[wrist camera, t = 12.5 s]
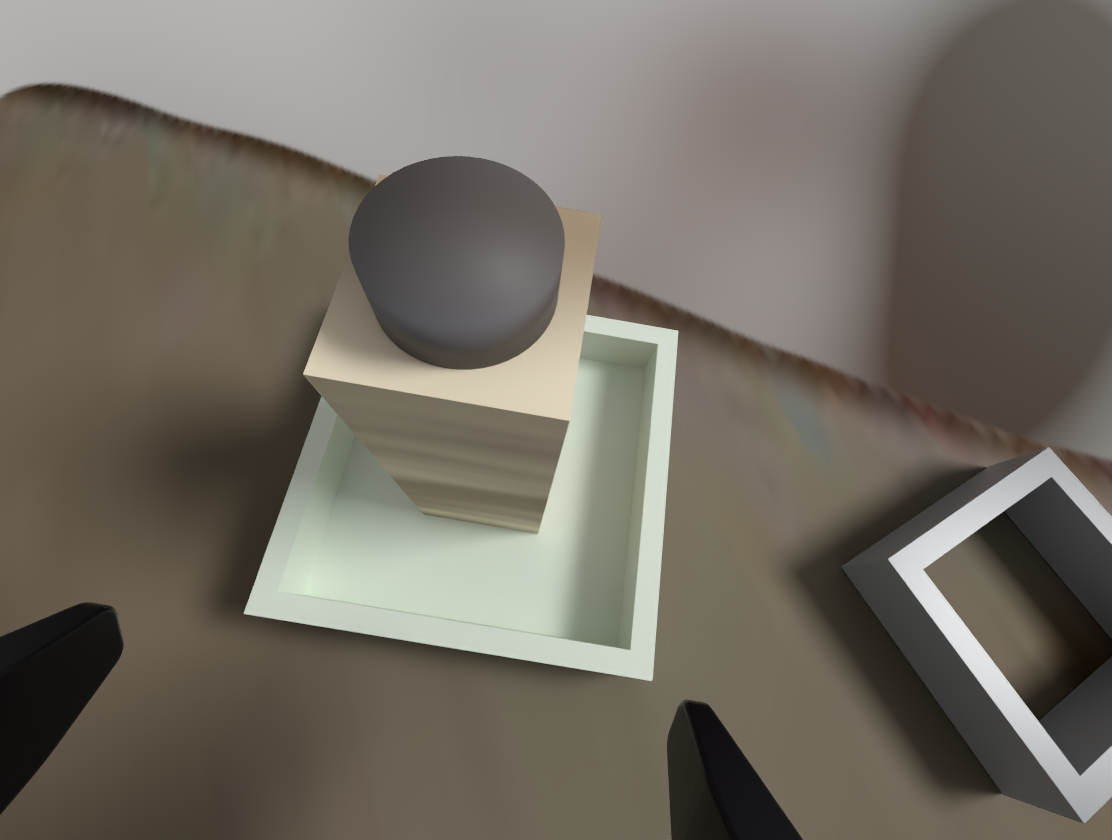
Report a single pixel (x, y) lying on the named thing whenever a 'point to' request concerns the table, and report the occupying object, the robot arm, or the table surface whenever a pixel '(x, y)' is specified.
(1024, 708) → the frame
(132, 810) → the table surface
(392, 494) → the sage tray
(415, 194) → the birch strut
